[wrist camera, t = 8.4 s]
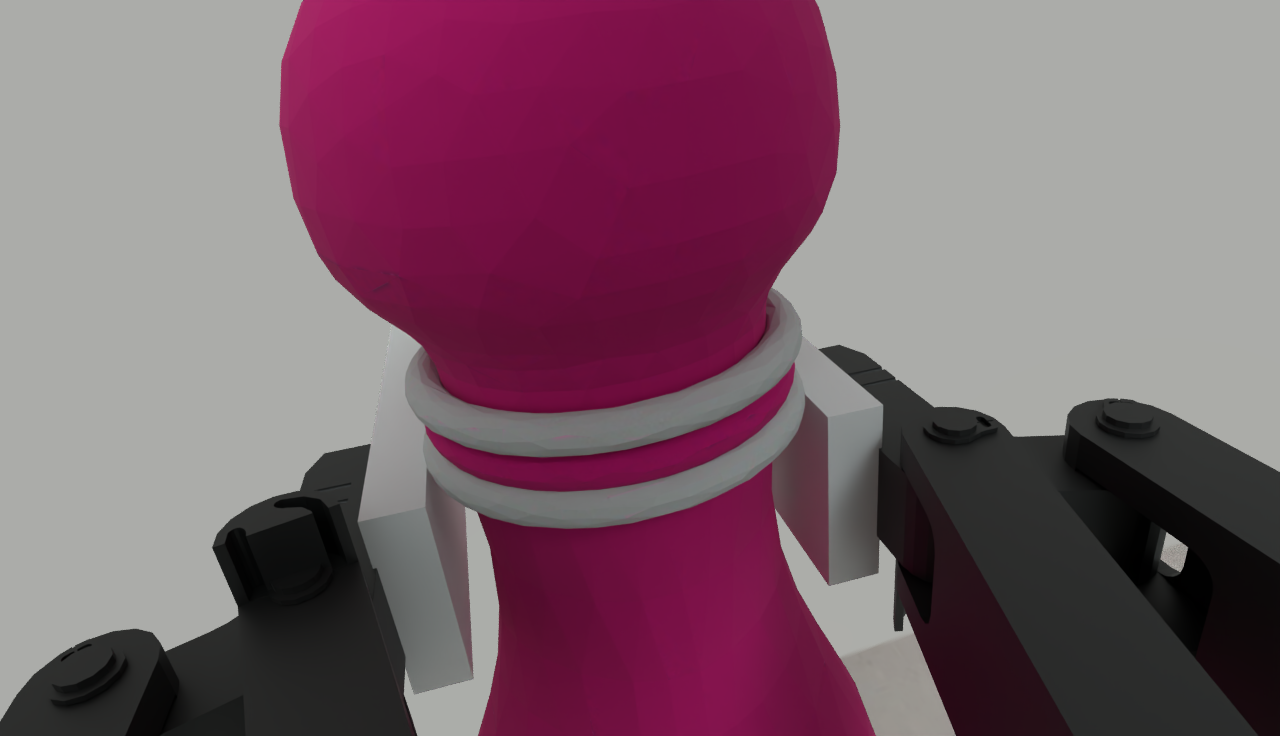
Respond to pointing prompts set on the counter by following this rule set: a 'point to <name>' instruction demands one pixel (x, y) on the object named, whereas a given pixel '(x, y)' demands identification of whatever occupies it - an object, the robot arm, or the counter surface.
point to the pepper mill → (594, 326)
